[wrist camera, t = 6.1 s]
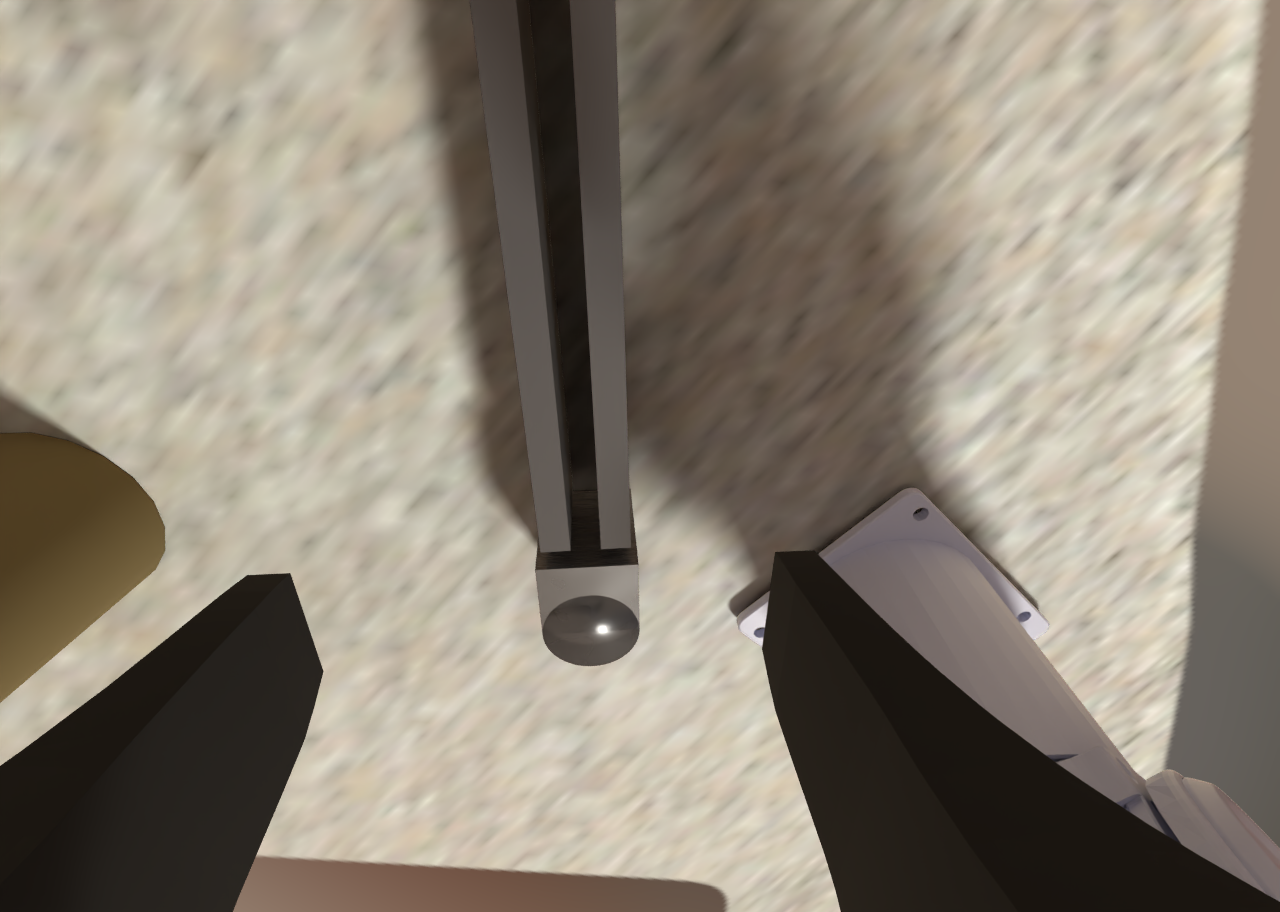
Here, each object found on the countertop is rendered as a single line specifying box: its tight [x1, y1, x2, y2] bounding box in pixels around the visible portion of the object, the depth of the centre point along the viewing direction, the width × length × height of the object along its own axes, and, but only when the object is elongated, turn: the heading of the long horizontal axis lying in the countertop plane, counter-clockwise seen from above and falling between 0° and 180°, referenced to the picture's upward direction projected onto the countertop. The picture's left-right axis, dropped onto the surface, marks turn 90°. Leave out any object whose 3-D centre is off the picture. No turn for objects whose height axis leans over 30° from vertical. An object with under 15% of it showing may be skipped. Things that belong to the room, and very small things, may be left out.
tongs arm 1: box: [570, 0, 631, 549], centre depth 15 cm, size 17×1×4 cm, turn 1°
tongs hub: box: [535, 489, 639, 666], centre depth 21 cm, size 4×3×4 cm
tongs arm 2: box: [470, 0, 573, 552], centre depth 15 cm, size 17×1×4 cm, turn 1°
